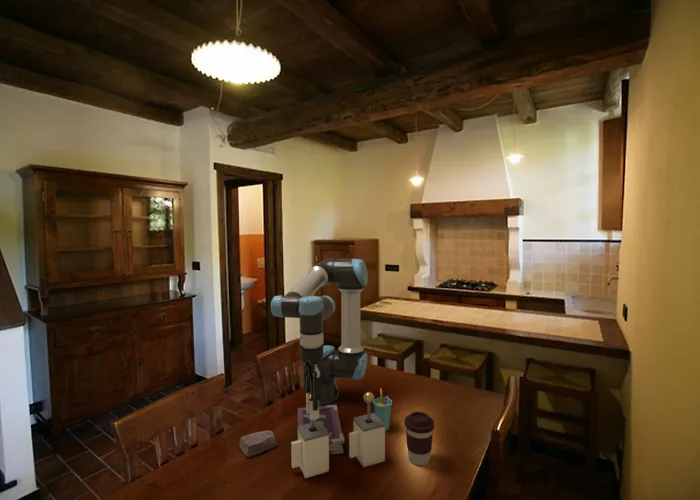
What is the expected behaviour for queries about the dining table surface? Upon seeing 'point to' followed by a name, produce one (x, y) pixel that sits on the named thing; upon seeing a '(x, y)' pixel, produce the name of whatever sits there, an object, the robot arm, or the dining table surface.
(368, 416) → the plunger
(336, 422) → the book
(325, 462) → the cream joystick box
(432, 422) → the coffee cup
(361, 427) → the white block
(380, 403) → the cup
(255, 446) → the stone
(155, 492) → the dining table surface
